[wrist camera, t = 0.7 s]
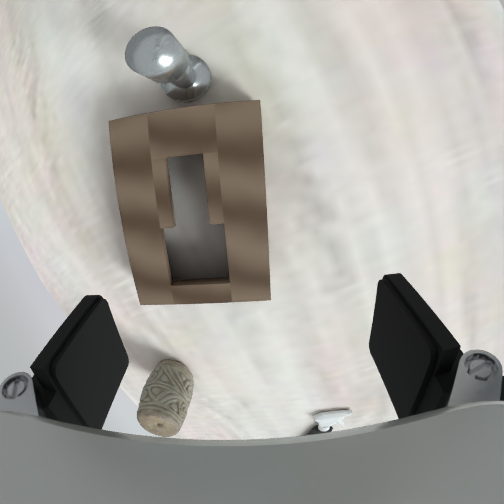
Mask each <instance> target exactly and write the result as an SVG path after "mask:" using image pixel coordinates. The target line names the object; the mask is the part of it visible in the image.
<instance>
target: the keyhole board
mask: <svg viewBox="0 0 504 504" xmlns="http://www.w3.org/2000/svg"><path fill="white" fill-rule="evenodd" d="M109 131H110V142H111V151H112V160H113V168H114V176H115V183H116V190H117V196H118V203H119V209H120V215H121V220H122V226H123V231H124V236H125V241H126V246H127V251H128V256H129V260H130V265H131V269H132V273H133V278H134V282H135V286H136V290H137V294H138V298H139V302H140V305H166V304H202V303H227V302H247V301H265V300H271V293H270V269H269V247H268V226H267V207H266V188H265V170H264V153H263V137H262V121H261V106H260V100H252V101H237V102H225V103H215V104H206V105H197V106H189V107H182V108H175V109H168V110H162V111H156V112H151V113H145V114H140V115H135V116H130V117H125V118H120V119H116V120H112V121H109ZM202 153H203V160H204V171H205V181H206V192H207V202H208V211H209V221H210V225H212V224H224V228H225V238H226V248H227V258H228V268H229V277H226V278H206V279H184V280H172V277H171V271H170V266H169V260H168V254H167V249H166V243H165V237H164V230H163V228H173V227H174V226H175V225H176V224H175V217H174V210H173V202H172V194H171V186H170V177H169V168H168V159H167V158H168V157H176V156H184V155H193V154H202Z"/></svg>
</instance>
